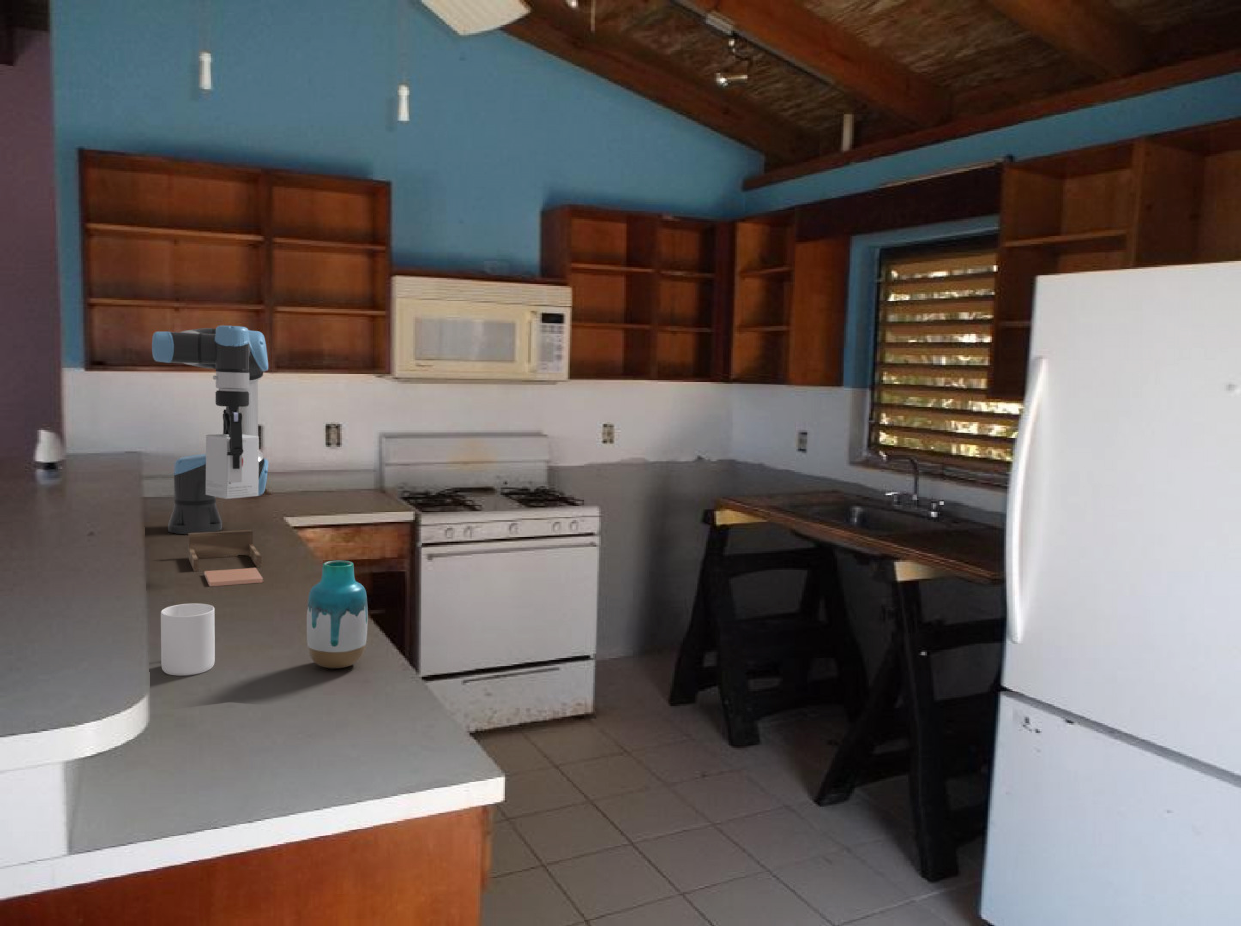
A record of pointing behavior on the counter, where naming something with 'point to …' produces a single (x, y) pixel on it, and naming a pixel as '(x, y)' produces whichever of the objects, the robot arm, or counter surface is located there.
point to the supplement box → (220, 467)
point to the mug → (187, 639)
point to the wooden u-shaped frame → (221, 546)
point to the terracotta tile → (233, 577)
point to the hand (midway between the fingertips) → (232, 479)
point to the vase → (337, 617)
